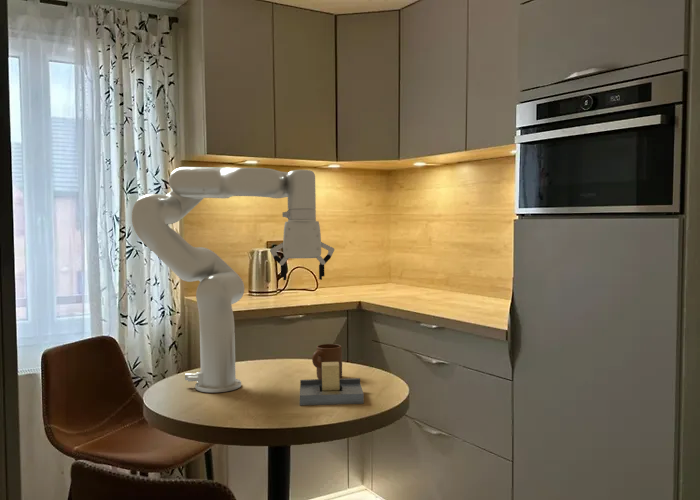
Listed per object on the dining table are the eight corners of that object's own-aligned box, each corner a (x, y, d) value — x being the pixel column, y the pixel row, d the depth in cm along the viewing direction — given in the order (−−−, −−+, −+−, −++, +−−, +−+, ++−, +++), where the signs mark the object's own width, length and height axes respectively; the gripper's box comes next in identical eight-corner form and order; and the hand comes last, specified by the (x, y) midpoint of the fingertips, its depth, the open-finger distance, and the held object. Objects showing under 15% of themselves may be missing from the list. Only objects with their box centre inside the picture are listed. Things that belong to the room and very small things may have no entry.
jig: (299, 405, 156) (299, 391, 156) (300, 392, 168) (300, 379, 168) (363, 403, 157) (363, 389, 157) (359, 391, 169) (359, 378, 169)
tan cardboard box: (322, 400, 160) (322, 365, 160) (322, 396, 165) (321, 362, 164) (339, 400, 160) (339, 365, 160) (338, 395, 165) (338, 361, 165)
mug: (324, 385, 175) (324, 352, 175) (302, 382, 179) (302, 349, 179) (347, 376, 186) (346, 345, 185) (325, 373, 190) (325, 342, 189)
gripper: (268, 216, 164) (269, 281, 165) (334, 215, 165) (335, 280, 166) (270, 216, 171) (271, 279, 172) (333, 216, 173) (334, 278, 173)
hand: (302, 279), depth 169 cm, fingers open, 9 cm apart
